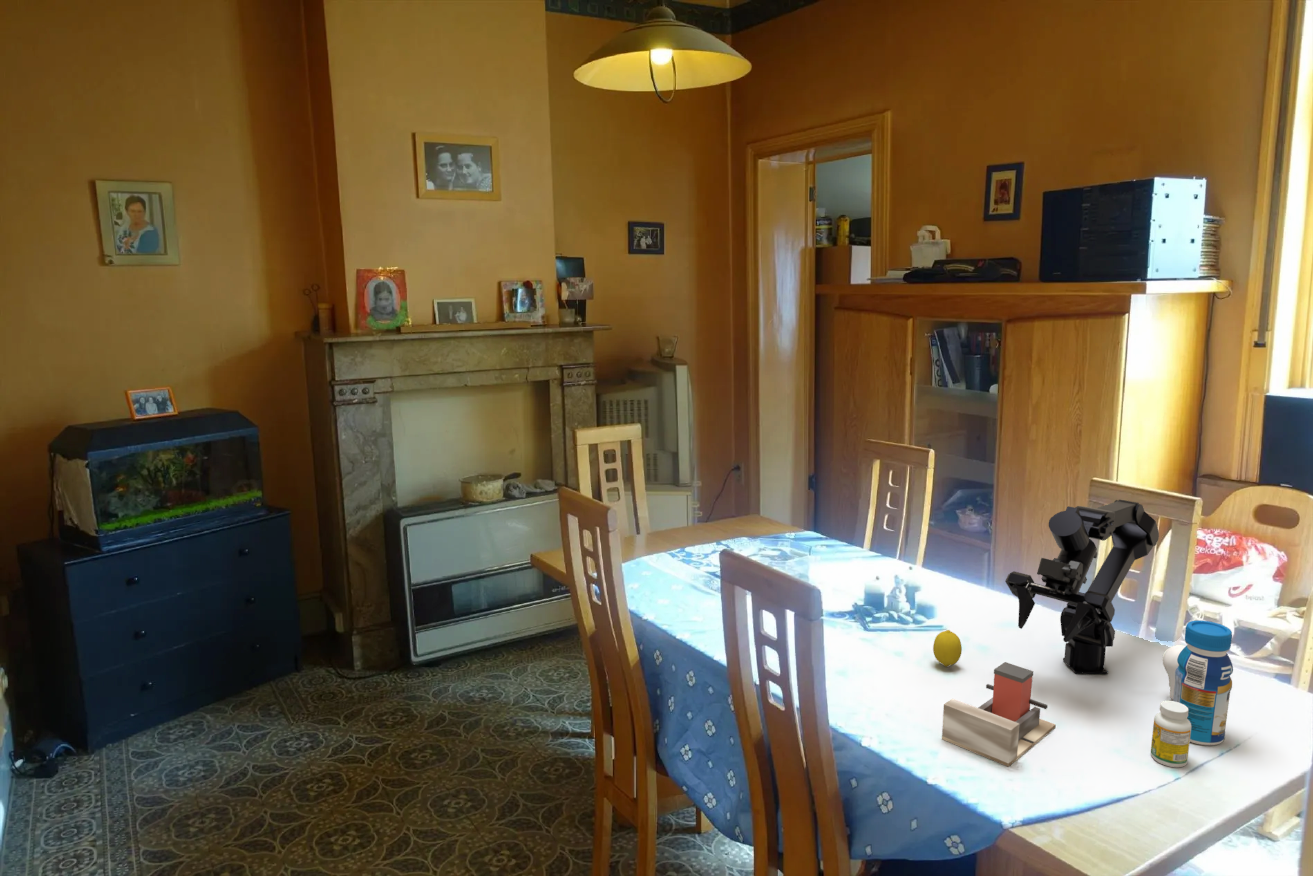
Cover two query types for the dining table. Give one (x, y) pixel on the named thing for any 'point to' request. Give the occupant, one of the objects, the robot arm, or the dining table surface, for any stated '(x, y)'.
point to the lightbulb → (1172, 664)
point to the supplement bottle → (1171, 734)
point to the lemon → (947, 648)
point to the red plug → (1012, 691)
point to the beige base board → (992, 731)
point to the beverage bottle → (1205, 680)
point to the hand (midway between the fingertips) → (1041, 634)
